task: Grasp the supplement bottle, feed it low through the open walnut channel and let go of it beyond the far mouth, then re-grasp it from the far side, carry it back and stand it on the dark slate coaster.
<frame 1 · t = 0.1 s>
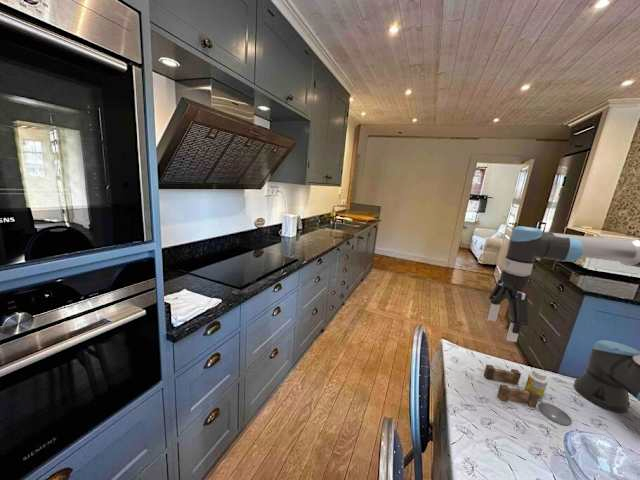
hand: (500, 329, 92), 28 cm above the table, fingers open, 13 cm apart
supplement bottle: (532, 395, 102), on the table
slate coaster: (554, 414, 93), on the table
walnut channel: (507, 390, 103), on the table
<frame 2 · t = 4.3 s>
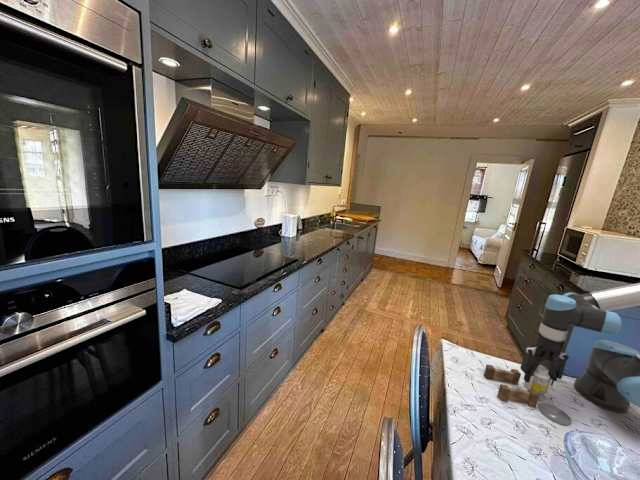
hand: (535, 390, 101), 2 cm above the table, fingers closed on supplement bottle, 6 cm apart
supplement bottle: (535, 391, 101), point 2 cm above the table, touching gripper
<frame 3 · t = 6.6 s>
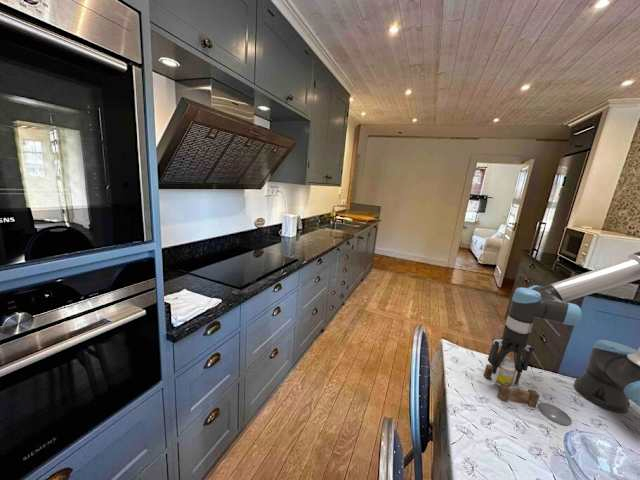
hand: (501, 381, 103), 3 cm above the table, fingers closed on supplement bottle, 6 cm apart
supplement bottle: (501, 383, 103), point 3 cm above the table, touching gripper
when the fingers open (1 cm above the table, at t = 8.9 s): supplement bottle stays where it is, on the table.
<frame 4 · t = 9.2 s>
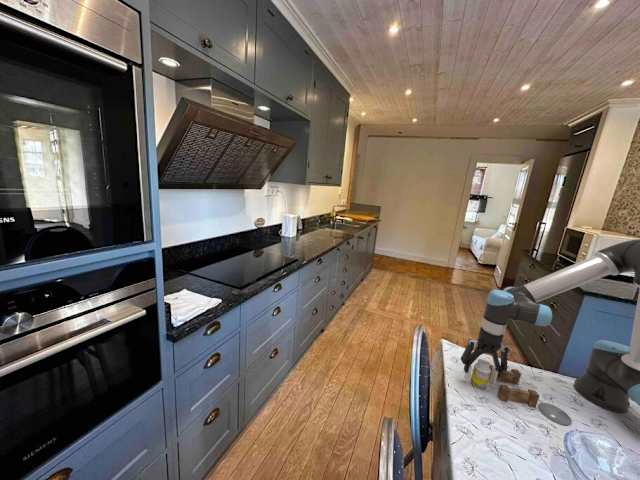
hand: (478, 381, 104), 1 cm above the table, fingers open, 9 cm apart
supplement bottle: (478, 385, 104), on the table
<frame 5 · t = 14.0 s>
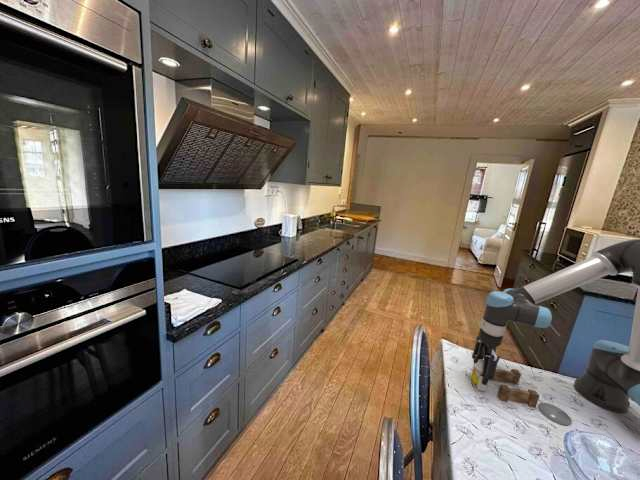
hand: (477, 383, 104), 0 cm above the table, fingers closed on supplement bottle, 6 cm apart
supplement bottle: (478, 385, 104), on the table, touching gripper
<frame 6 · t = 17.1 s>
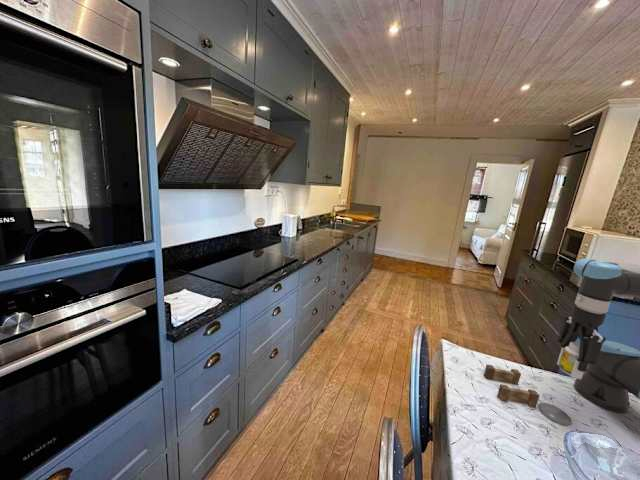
hand: (568, 371, 90), 18 cm above the table, fingers closed on supplement bottle, 6 cm apart
supplement bottle: (569, 372, 90), point 17 cm above the table, touching gripper
when the fingers open (1 cm above the table, at t = 20.2 s): supplement bottle stays where it is, resting on slate coaster.
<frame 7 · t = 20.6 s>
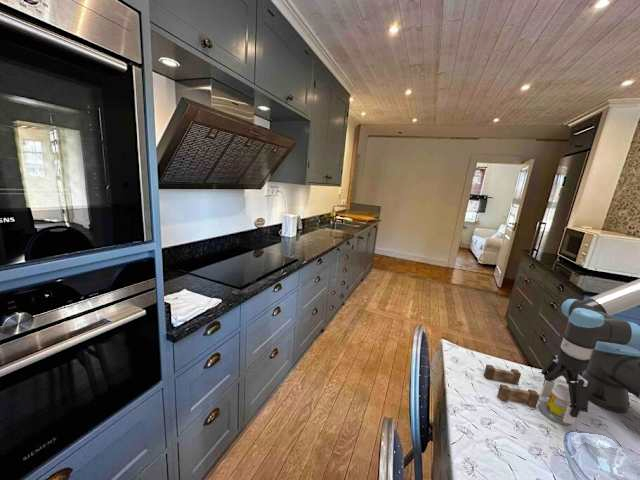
hand: (555, 408, 93), 2 cm above the table, fingers open, 10 cm apart
supplement bottle: (555, 413, 93), resting on slate coaster
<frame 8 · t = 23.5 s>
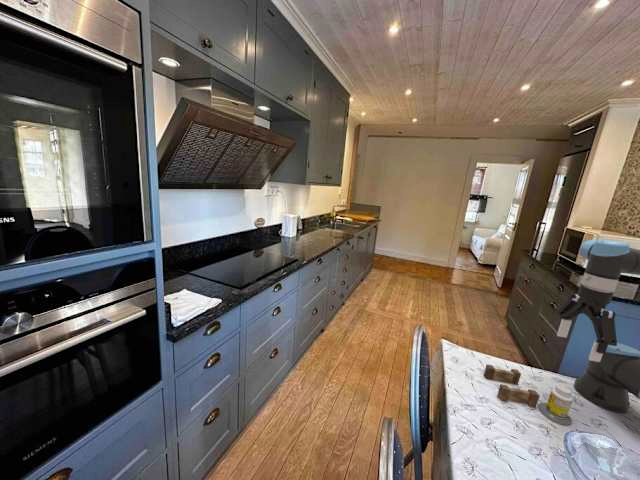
hand: (576, 347, 88), 27 cm above the table, fingers open, 13 cm apart
nothing on the table moved.
at the end: supplement bottle 0.4 cm from the slate coaster (horizontally); supplement bottle tilted 0°; the gripper is holding nothing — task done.
